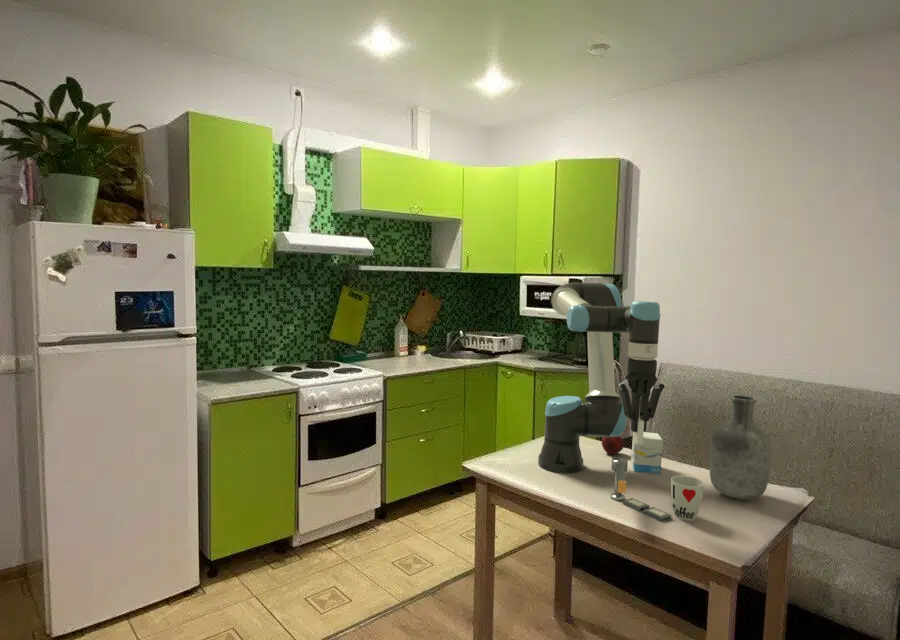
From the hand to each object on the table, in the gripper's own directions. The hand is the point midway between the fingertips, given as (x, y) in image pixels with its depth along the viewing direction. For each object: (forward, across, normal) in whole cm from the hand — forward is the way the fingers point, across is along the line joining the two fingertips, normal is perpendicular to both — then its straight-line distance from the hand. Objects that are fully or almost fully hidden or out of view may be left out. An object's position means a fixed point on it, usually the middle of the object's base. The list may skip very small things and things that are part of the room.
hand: (637, 443), depth 151 cm
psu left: (+19, +2, +2) cm, 19 cm away
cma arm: (+10, -4, +1) cm, 11 cm away
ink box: (+19, +20, +32) cm, 42 cm away
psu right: (+19, +5, -4) cm, 20 cm away
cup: (+19, +12, -5) cm, 23 cm away
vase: (+19, +37, +7) cm, 42 cm away
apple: (+19, +16, +47) cm, 53 cm away
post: (+19, -1, +8) cm, 21 cm away
